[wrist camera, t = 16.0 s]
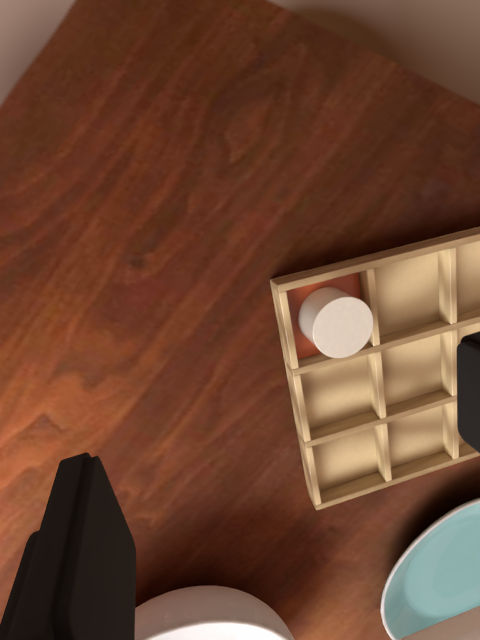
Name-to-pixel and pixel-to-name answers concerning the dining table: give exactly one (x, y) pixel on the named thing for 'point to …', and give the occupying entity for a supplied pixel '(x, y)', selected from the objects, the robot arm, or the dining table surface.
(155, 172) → the dining table surface
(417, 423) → the wooden compartment tray
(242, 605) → the serving bowl
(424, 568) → the plate
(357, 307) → the white cylinder puck
